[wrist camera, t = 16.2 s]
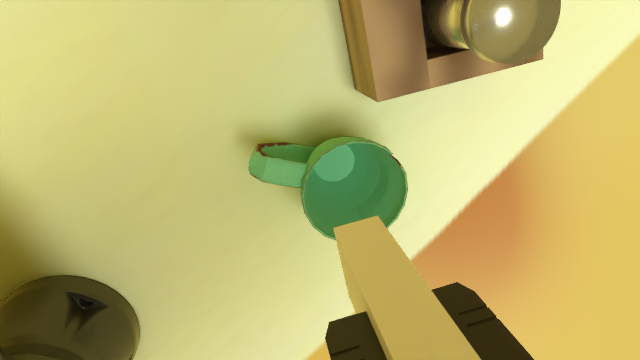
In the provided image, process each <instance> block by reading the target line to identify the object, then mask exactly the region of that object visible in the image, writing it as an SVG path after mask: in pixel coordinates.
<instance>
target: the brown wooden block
mask: <svg viewBox="0 0 640 360" xmlns="http://www.w3.org/2000/svg"><path fill="white" fill-rule="evenodd" d="M424 1H425V0H339V5H340V11H341V16H342V22H343V27H344V32H345V38H346V43H347V49H348V54H349V59H350V65H351V70H352V75H353V81H354V86H355V90H357V91H359V92H361V93H362V94H364V95H366V96H368V97H369V98H371V99H373V100H375V101H377V102H380V101H384V100H388V99H392V98H395V97H399V96H403V95H407V94H411V93H415V92H419V91H422V90H426V89H430V88H434V87H438V86H442V85H446V84H449V83H453V82H457V81H461V80H465V79H469V78H473V77H476V76H480V75H484V74H488V73H492V72H496V71H500V70H503V69H507V68H511V67H515V66H519V65H523V64H527V63H530V62H534V61H538V60H542V59H543V48H542V49H541V50H540V51H539V52H538V53H537V54H535V55H534V56H532V57H531V58H529V59H527V60H525V61H522V62H519V63H514V64H504V63H497V62H490V61H486V60H483V59H481V58H479V57H478V56H476V55H475V54H474V53H473V52H472V51H471V50H470V49H465V48H455V47H446V46H438V45H435V44H432V43H431V42H429V41H428V40H427V39H426V38H425V36H424V29H423V20H422V12H421V7H422V5H423V3H424Z"/></svg>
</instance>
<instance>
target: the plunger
mask: <svg viewBox="0 0 640 360" xmlns="http://www.w3.org/2000/svg"><path fill="white" fill-rule="evenodd" d="M560 7H561V0H425V1H424V3H423V5H422V7H421V12H422V20H423V29H424V36H425V38H426V39H427V40H428V41H429V42H431V43H432V44H435V45H438V46H446V47H455V48H465V49H470V50H471V51H472V52H473V53H474V54H475V55H476V56H478V57H479V58H481V59H483V60H486V61H490V62H497V63H504V64H514V63H519V62H522V61H525V60H527V59H529V58H531V57H532V56H534V55H535V54H537V53H538V52H539V51H540V50H541V49H542V48H543V47H544V46H545V45H546V44H547V42H548V41H549V39H550V38H551V36H552V35H553V33H554V31H555V28H556V26H557V23H558V19H559V15H560Z"/></svg>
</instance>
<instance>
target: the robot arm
mask: <svg viewBox="0 0 640 360" xmlns="http://www.w3.org/2000/svg"><path fill="white" fill-rule="evenodd" d="M333 229H334V233H335V237H336V242H337V246H338V250H339V255H340V259H341V263H342V267H343V272H344V276H345V280H346V284H347V289H348V293H349V297H350V299H351V302H352V304H353V307H354V309H355V312H356V314H355V315H351V316H348V317H345V318H341V319H338V320H335V321H331V322H329V325H328V329H327V333H326V337H325V339H326V343H327V347H328V350H329V354H330V358H331V360H534V359H533V358H532V357H531V355H530V354H529V353H528V352H527V351H526V350H525V349H524V347H523V346H522V345H521V344H520V343H519V342H518V341H517V339H516V338H515V337H514V336H513V335H512V334H511V333H510V331H509V330H508V329H507V328H506V327H505V326H504V325H503V323H502V322H501V321H500V320H499V319H497V318H496V315H495V314H494V313H493V312H492V311H491V310H490V309H489V308H487V306H486V304H485V303H484V302H483V301H482V300H481V298H480V297H479V296H478V295H477V294H476V293H475V292H474V291H473V290H471V289H469V288H467V287H465V286H463V285H461V284H460V283H458V282H456V283H453V284H449V285H446V286H443V287H440V288H436V289H433V290H431V289H430V288H429V286H428V285H427V284H426V282H425V281H424V280H423V278H422V277H421V275H420V274H419V272H418V271H417V270H416V268H415V267H414V265H413V264H412V263H411V261H410V260H409V258H408V257H407V256H406V254H405V253H404V251H403V250H402V249H401V247H400V246H399V245H398V243H397V242H396V240H395V239H394V238H393V236H392V235H391V233H390V232H389V231H388V229H387V228H386V226H385V225H384V224H383V222H382V221H381V219H380V218H379V217H378V215H377V216H374V217H370V218H367V219H363V220H360V221H356V222H353V223H349V224H346V225H342V226H339V227H335V228H333ZM139 337H140V329H139V323H138V319H137V317H136V314H135V312H134V311H133V309H132V307H131V306H130V305H129V303H128V302H127V301H126V300H125V299H124V298H123V297H122V296H121V295H119V294H118V293H117V292H116V291H114V290H113V289H111V288H109V287H107V286H105V285H103V284H101V283H99V282H96V281H93V280H90V279H86V278H81V277H73V276H55V277H48V278H43V279H39V280H36V281H33V282H30V283H28V284H26V285H24V286H22V287H20V288H19V289H17V290H16V291H14V292H13V293H12V294H11V295H10V296H9V297H8V298H7V299H6V300H5V301H4V302H3V303H2V305H1V306H0V360H133V358H134V355H135V352H136V349H137V346H138V342H139Z"/></svg>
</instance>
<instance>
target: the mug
mask: <svg viewBox="0 0 640 360" xmlns="http://www.w3.org/2000/svg"><path fill="white" fill-rule="evenodd" d="M392 154H393V153H392V152H391V151H390V150H389V149H387V148H386V147H384V146H382V145H380V144H378V143H376V142H373V141H371V140H367V139H364V138H357V137H345V136H342V137H337V138H333V139H328V140H327V141H325V142H323V143H321V144H320V145H319V146H318V147H312V146H304V145H297V144H290V143H268V144H258V146H257V147H256V149H255V151H254V153H253V155H252V157H251V159H250V161H249V172H250V174H251V175H252V176H254V177H255V178H257V179H259V180H261V181H263V182H267V183H272V184H277V185H283V186H290V187H296V188H301V199H302V203H303V208H304V212H305V215H306V216H307V218H308V219H309V221H310V223H311V224H312V226H313V227H314V228H315V229H316V230H318V231H319V232H320V233H322V234H323V235H324V236H325V237H328V238H331V239H334V240H336V237H335V233H334V229H333V228H335V227H339V226H342V225H346V224H349V223H353V222H356V221H360V220H363V219H367V218H370V217H374V216H377V215H378V217H379V218H380V219H381V221H382V222H383V224H384V225H385V226H386V228H388V227H389V226H390V225H391V224H392V223H393V222H394V221H395V220H396V219H397V218H398V216H399V214H400V212H401V210H402V209H403V207H404V205H405V201H406V196H407V191H408V185H407V176H406V173H405V171H404V169H403V167H402V165H401V164H400V163H399V161H398V160H397V159H396V158H394V157H393V156H392Z"/></svg>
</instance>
